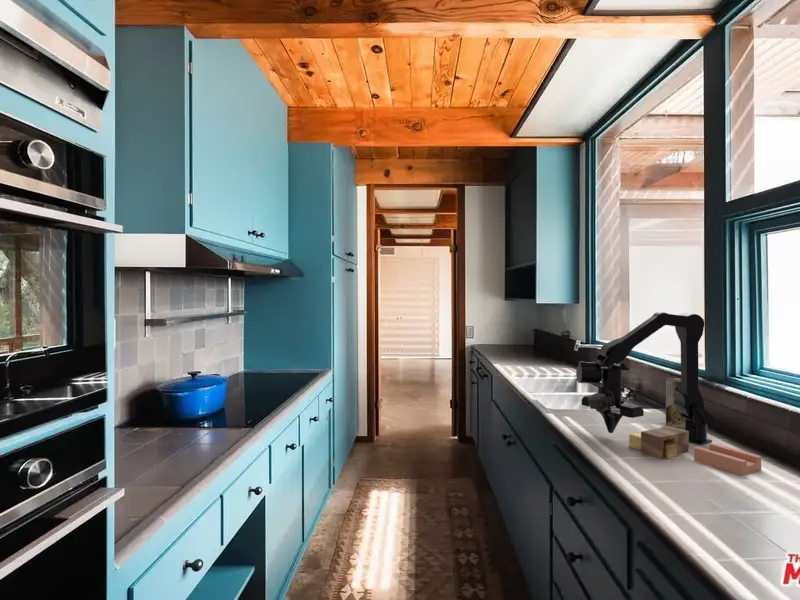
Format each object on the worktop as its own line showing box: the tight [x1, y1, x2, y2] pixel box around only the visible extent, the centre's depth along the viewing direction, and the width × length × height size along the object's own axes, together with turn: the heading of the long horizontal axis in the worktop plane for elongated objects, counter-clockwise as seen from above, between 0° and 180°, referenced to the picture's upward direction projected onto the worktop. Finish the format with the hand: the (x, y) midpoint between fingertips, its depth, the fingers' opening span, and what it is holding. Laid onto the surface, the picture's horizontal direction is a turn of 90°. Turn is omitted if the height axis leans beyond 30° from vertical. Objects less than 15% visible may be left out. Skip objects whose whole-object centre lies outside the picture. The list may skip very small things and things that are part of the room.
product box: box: [664, 377, 686, 429], centre depth 165 cm, size 9×6×16 cm
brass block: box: [628, 432, 678, 460], centre depth 138 cm, size 12×4×4 cm, turn 28°
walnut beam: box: [640, 426, 690, 460], centre depth 138 cm, size 13×6×6 cm, turn 119°
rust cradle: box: [693, 442, 762, 476], centre depth 128 cm, size 9×12×4 cm
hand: (610, 432), depth 150 cm, fingers closed
